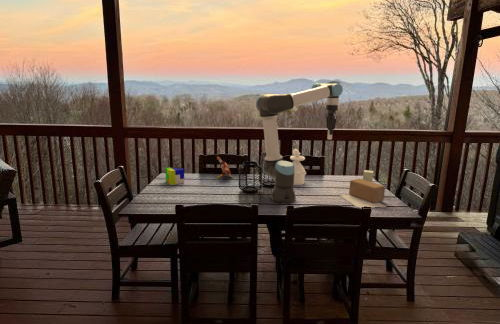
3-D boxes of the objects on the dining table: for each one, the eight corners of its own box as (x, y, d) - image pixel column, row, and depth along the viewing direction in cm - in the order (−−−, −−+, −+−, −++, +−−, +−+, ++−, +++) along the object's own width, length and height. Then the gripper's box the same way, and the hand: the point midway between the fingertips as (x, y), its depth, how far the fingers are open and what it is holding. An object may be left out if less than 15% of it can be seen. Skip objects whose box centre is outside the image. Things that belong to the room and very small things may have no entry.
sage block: (361, 191, 227) (363, 171, 223) (362, 189, 232) (364, 169, 229) (370, 192, 224) (373, 172, 221) (371, 190, 230) (373, 170, 227)
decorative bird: (208, 168, 264) (216, 151, 262) (229, 177, 268) (237, 160, 265) (208, 178, 237) (216, 159, 234) (231, 187, 240) (240, 168, 238)
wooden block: (348, 194, 217) (373, 203, 201) (349, 180, 215) (375, 188, 199) (358, 192, 223) (384, 201, 206) (359, 178, 221) (386, 185, 204)
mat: (340, 196, 215) (340, 195, 215) (365, 195, 219) (365, 194, 219) (358, 208, 193) (358, 207, 193) (385, 207, 197) (386, 206, 197)
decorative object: (282, 181, 247) (283, 148, 242) (297, 179, 253) (299, 147, 248) (294, 186, 234) (296, 152, 228) (309, 184, 240) (311, 150, 234)
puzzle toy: (184, 183, 236) (184, 169, 233) (171, 185, 230) (170, 171, 228) (178, 179, 244) (178, 166, 241) (165, 181, 238) (165, 168, 236)
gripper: (342, 105, 216) (339, 140, 221) (333, 104, 229) (330, 137, 234) (331, 104, 215) (328, 140, 220) (323, 103, 227) (320, 137, 232)
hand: (329, 139), depth 227 cm, fingers closed
